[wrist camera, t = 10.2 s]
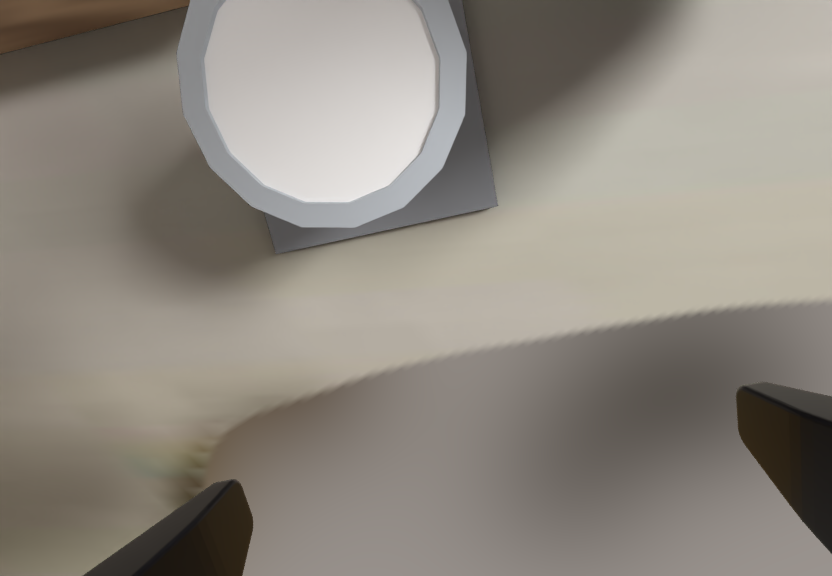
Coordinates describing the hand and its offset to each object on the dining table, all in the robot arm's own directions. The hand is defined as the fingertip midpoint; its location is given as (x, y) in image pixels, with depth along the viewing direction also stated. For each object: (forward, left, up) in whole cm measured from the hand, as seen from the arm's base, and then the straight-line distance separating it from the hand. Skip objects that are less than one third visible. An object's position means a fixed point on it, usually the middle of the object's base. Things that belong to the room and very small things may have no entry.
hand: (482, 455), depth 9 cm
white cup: (+2, -7, -12) cm, 14 cm away
